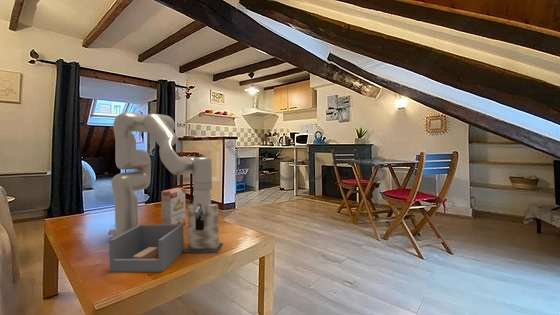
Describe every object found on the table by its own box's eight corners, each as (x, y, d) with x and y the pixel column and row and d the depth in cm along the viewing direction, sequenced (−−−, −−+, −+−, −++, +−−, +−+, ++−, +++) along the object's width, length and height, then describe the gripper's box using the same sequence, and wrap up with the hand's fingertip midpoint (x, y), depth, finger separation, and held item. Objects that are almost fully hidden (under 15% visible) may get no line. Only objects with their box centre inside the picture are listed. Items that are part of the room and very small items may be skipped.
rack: (109, 271, 91) (109, 240, 91) (140, 250, 110) (139, 224, 109) (162, 271, 90) (161, 240, 90) (183, 250, 109) (183, 224, 109)
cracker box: (171, 231, 136) (170, 191, 135) (161, 230, 137) (160, 191, 136) (186, 223, 149) (185, 187, 149) (177, 223, 150) (176, 187, 150)
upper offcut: (149, 253, 102) (149, 246, 102) (158, 253, 101) (157, 247, 101) (132, 263, 93) (132, 256, 93) (142, 263, 92) (141, 256, 92)
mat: (183, 253, 107) (183, 251, 107) (191, 244, 117) (191, 242, 117) (217, 253, 106) (217, 251, 106) (223, 244, 116) (223, 242, 116)
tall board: (188, 248, 110) (187, 205, 110) (191, 245, 113) (190, 204, 113) (217, 248, 110) (216, 205, 109) (218, 245, 113) (218, 204, 112)
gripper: (200, 183, 119) (201, 220, 120) (186, 189, 102) (187, 232, 103) (217, 183, 119) (217, 220, 120) (205, 189, 102) (206, 232, 102)
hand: (203, 226), depth 111 cm, fingers open, 9 cm apart
